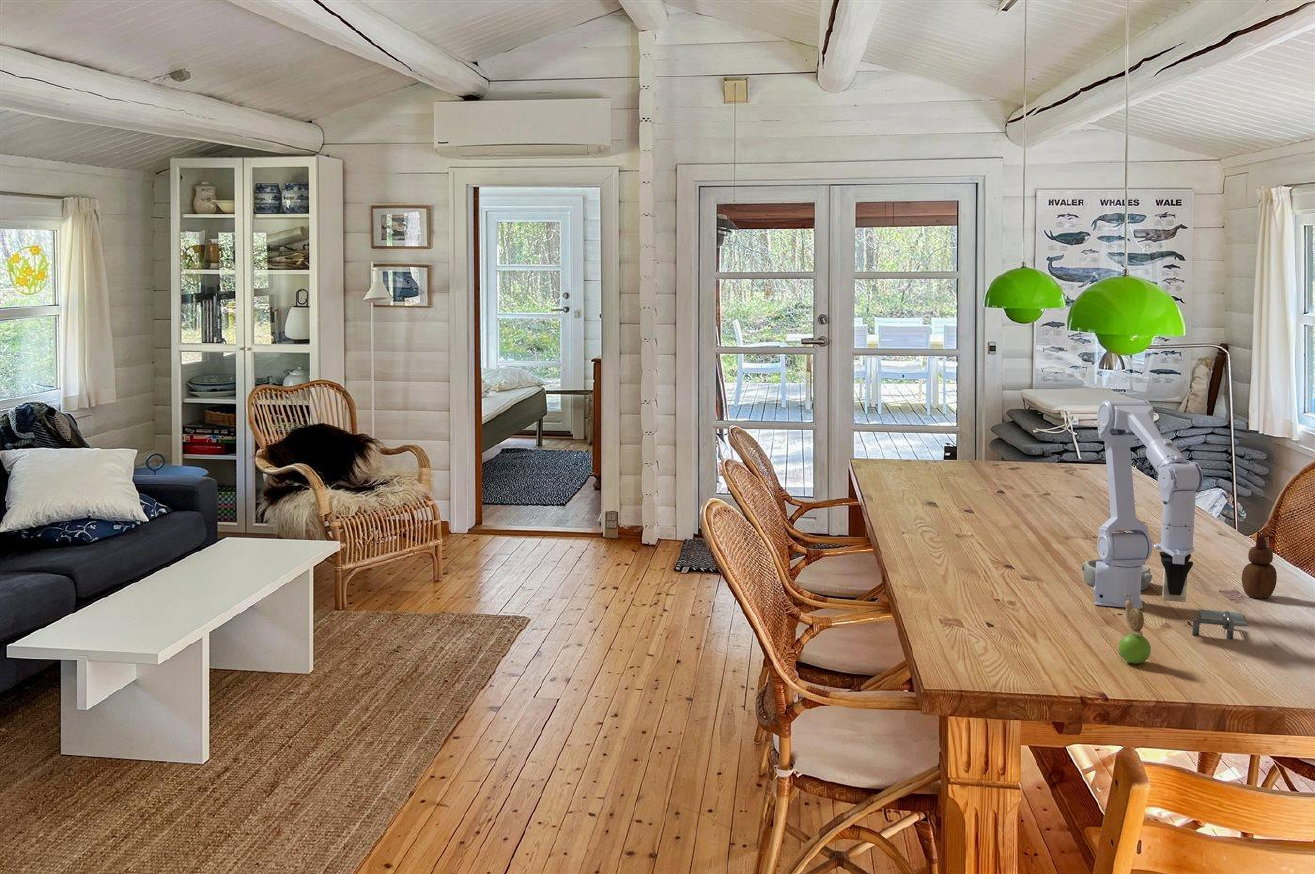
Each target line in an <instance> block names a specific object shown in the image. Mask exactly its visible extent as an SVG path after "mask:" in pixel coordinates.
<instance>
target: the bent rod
mask: <svg viewBox="0 0 1315 874" xmlns="http://www.w3.org/2000/svg"><path fill="white" fill-rule="evenodd" d="M1229 612H1230V611H1229V610H1225V612H1224V613H1223V620H1217V619H1205V618H1201V617H1195V619H1193V620H1192V633H1191V634H1192V636H1194V637H1199V636H1200V625H1201V624H1204V625H1217V626H1222V629H1225V630H1226V636H1225V638H1226V639H1227V640H1233V639H1234V630H1235V625H1234V622H1233V621H1232V618H1231V616H1230V613H1229Z"/></svg>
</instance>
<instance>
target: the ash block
mask: <svg viewBox="0 0 1315 874" xmlns="http://www.w3.org/2000/svg"><path fill="white" fill-rule="evenodd" d="M1162 571H1163V576H1162V591H1161V592H1162V594H1161V595H1162V600H1163V601H1168V602H1176V603H1177V602H1178V603H1187V589H1188V588H1187V586H1188V576H1187V577H1186V580H1185V583H1184V587H1183V591H1182V594H1181V595H1170V594H1169V591H1168V585H1167V576H1166V571H1165V568H1164V567H1163V570H1162Z"/></svg>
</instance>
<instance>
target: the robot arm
mask: <svg viewBox="0 0 1315 874" xmlns="http://www.w3.org/2000/svg"><path fill="white" fill-rule="evenodd" d="M1154 415H1155V413H1154V407H1153V406H1152V404H1151V402H1150V401H1149V400H1148V399H1140V400H1108V399H1107V400H1106V399H1105V400H1103V401H1102V402H1101V403H1100V405H1099V408H1098V410H1097V411H1096V421H1097V433H1098V439H1099V440H1101V441H1103V442H1104V450H1105V462H1106V473H1107V485H1108V487H1107V488H1108V497H1109V498H1108V499H1109V510H1110V512H1109V513H1110V517H1109V519H1107V520H1106V521H1105V522H1104V523H1102V525H1100V527H1098V538H1097V544H1096V547H1097V548H1096V549H1097V553H1098V556H1099V557H1100V558H1099V559H1102V560H1103V562H1100V561H1097V562H1096V578H1095V586H1094V587H1093V586H1092V587H1093V589H1092V590H1093V591H1092V592H1093V593H1092V594H1093V595H1094V605H1096V606H1103V607H1104V606H1106V607H1115V608H1117V607H1118V608H1126V606H1125V602H1126V596H1125V594H1128V597H1127V600H1130V601H1132V603H1133V606H1132V609H1133V608H1139V609H1140V610H1143V608H1144V605H1143V598H1142V597H1141V594H1142V593H1141V592H1142V590H1141V573H1142V565H1146V562H1147V561H1148V560H1149V559H1150V558H1151V555H1152V553H1153V548H1154V550H1155V549H1156V550H1160V552H1159V556H1160V561H1161V564H1162V566H1163V569H1164V568H1165V571H1166V576H1167V585H1168V591H1169V594H1170V595H1181V594H1182V591H1183V587H1184V583H1185V580H1186V577H1187V578H1188V575H1189V573H1190V570H1191V569H1192V567H1193V566H1194V561H1192V560H1191V561H1190V559H1191V557H1192V554H1193V553H1194V550H1195V549H1194V532H1195V531H1194V530H1195V514H1196V513H1195V512H1196V511H1195V510H1196V494H1197V492H1199V491H1201V489H1202V487H1203V483H1204V473H1203V471H1202V468H1201V466H1200V465H1199V463H1198V462H1196V461H1191V460H1187V459H1186V457H1185V456H1184V455H1183V454H1182V452H1181V451H1180V449H1178V447H1177V446H1176V444H1175V443H1174V442H1173V441H1172V439H1169V438H1163V436H1162V433H1161V432H1160V430H1159V428H1158V427H1157V425H1156V424H1155V421H1154V419H1155V416H1154ZM1136 440H1139V441H1140V442H1141V443H1142V444H1143V445H1144V447H1146V449H1145V457H1146V458H1147V460H1148V461H1149V463H1150V464H1151V466H1152V468H1153V469H1154V470H1155V472H1156V473H1157V483H1158V487H1159V490H1160V491H1159V496H1160V500H1161V501H1162V508H1161V509H1162V510H1161V511H1162V512H1161V515H1162V516H1161V528H1160V529H1161V531H1160V543H1152V542H1153V541H1152V540H1151V537H1150V533H1149V527H1148V525H1147V524H1145V523H1144V522H1143V521H1141V520H1140V519H1139V518H1138V517H1137V515H1136V503H1135V502H1136V500H1135V490H1134V477H1133V465H1132V456H1131V455H1132V454H1131V444H1132V443H1133V442H1134V441H1136ZM1124 531H1128V532H1124ZM1129 594H1131V595H1132V596H1131V597H1129Z"/></svg>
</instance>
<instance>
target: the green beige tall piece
mask: <svg viewBox="0 0 1315 874" xmlns="http://www.w3.org/2000/svg"><path fill="white" fill-rule="evenodd" d="M1125 596H1126V602H1125V606H1126V607H1125V620H1126V625H1127V628H1128V630H1129V631H1130V633H1128V634H1126V635H1124V636H1123V637H1121V639H1120V640H1119V643H1118V652H1119V653H1118V654H1120V657H1121V658H1122V659H1123V660H1124V661H1126V662H1128V663H1130V664H1134V665H1135V664H1137V665H1138V664H1142V663H1144V662H1145V661H1147V660H1148V659H1149V658H1150V656H1151V654H1152V653H1151V652H1152V647H1151V644H1150V642H1149V641H1148V639H1147V638H1146V637H1145V636H1143V635H1144V634H1143V631H1141V630H1142V629H1144V625H1145V617H1144V613H1143V612H1142V609H1139V608H1132V606H1133V603H1132V601H1130V600H1127V597H1128V594H1125ZM1131 596H1132V595H1131V594H1129V597H1131Z"/></svg>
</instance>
